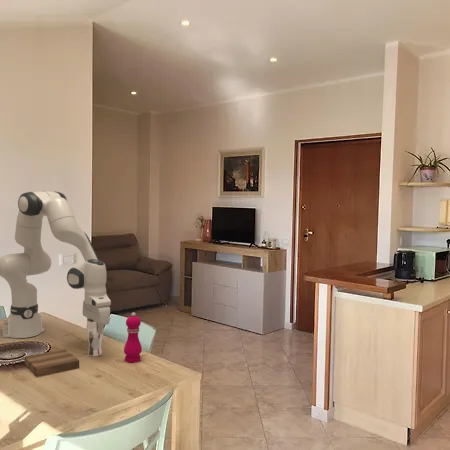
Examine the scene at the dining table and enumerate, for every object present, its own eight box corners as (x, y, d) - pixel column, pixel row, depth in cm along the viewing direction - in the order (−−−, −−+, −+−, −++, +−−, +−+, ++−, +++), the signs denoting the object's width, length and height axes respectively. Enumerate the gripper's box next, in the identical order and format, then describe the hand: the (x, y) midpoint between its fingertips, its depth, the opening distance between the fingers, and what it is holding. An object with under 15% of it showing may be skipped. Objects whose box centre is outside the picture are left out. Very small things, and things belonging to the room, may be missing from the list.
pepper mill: (135, 356, 197) (136, 309, 196) (145, 360, 192) (145, 312, 191) (120, 359, 192) (121, 312, 191) (130, 364, 187) (130, 315, 186)
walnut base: (24, 364, 184) (24, 356, 184) (64, 356, 194) (64, 349, 194) (37, 377, 172) (37, 369, 172) (79, 367, 182) (79, 360, 182)
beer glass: (90, 358, 192) (91, 322, 192) (83, 353, 198) (83, 319, 197) (106, 355, 197) (106, 320, 196) (98, 350, 202) (99, 316, 201)
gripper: (78, 294, 202) (78, 326, 203) (98, 303, 186) (98, 337, 187) (92, 293, 206) (92, 324, 207) (112, 301, 190) (112, 335, 191)
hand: (95, 330), depth 197 cm, fingers open, 8 cm apart
